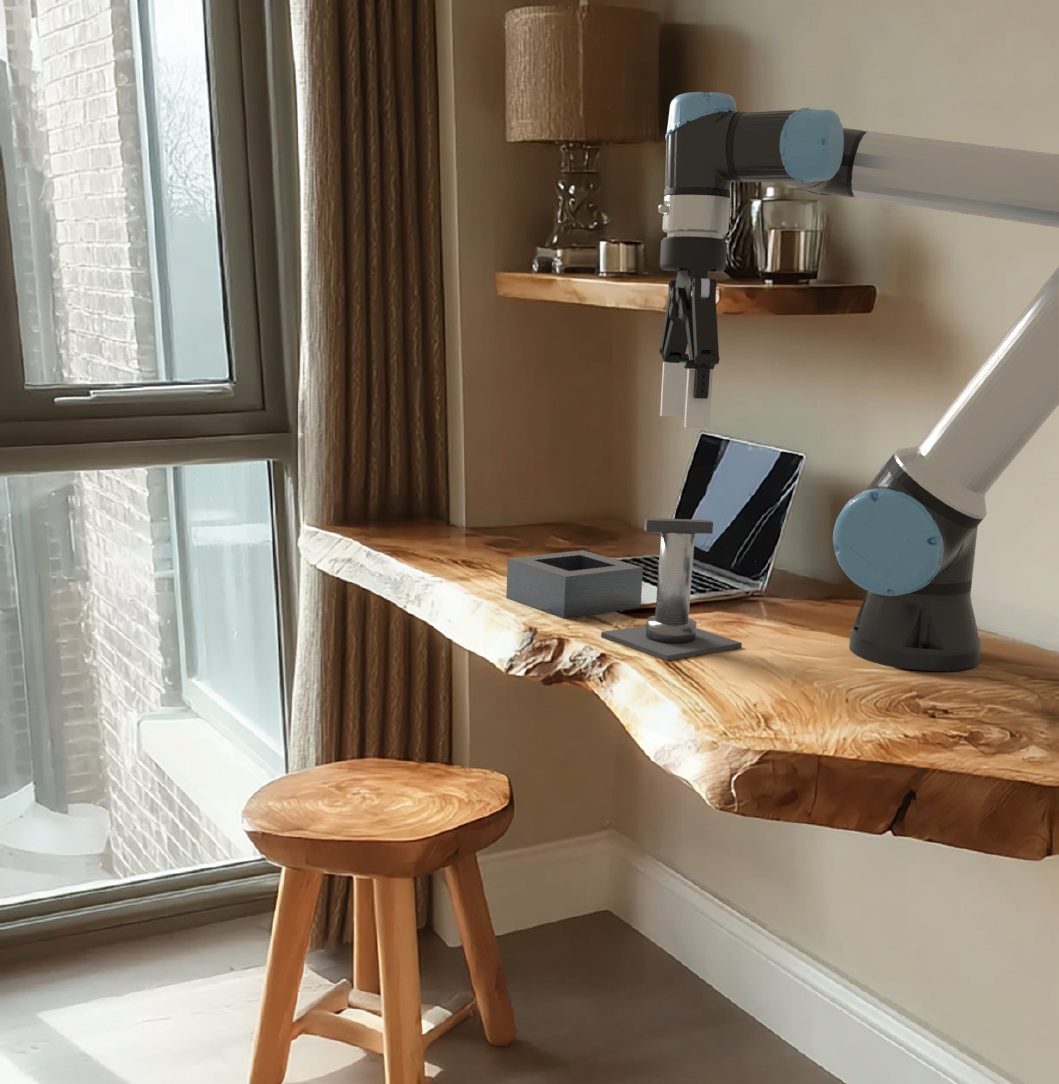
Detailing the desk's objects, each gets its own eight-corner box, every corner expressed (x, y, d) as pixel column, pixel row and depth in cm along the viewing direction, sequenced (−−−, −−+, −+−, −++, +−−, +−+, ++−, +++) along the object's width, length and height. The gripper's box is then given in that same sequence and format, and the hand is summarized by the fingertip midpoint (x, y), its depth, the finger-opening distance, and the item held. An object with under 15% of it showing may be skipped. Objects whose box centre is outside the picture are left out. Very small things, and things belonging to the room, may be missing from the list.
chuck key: (696, 631, 160) (705, 516, 157) (708, 644, 154) (718, 525, 152) (633, 629, 159) (641, 514, 157) (642, 643, 153) (651, 523, 151)
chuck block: (640, 607, 174) (642, 567, 173) (563, 618, 167) (565, 576, 166) (581, 588, 184) (582, 550, 183) (506, 597, 177) (507, 558, 176)
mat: (741, 647, 156) (741, 642, 156) (666, 660, 149) (667, 655, 149) (674, 625, 165) (674, 620, 165) (601, 636, 158) (601, 632, 158)
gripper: (641, 239, 160) (633, 411, 164) (686, 229, 135) (674, 432, 139) (701, 241, 161) (691, 412, 165) (756, 232, 136) (742, 433, 140)
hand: (683, 422), depth 152 cm, fingers open, 13 cm apart
